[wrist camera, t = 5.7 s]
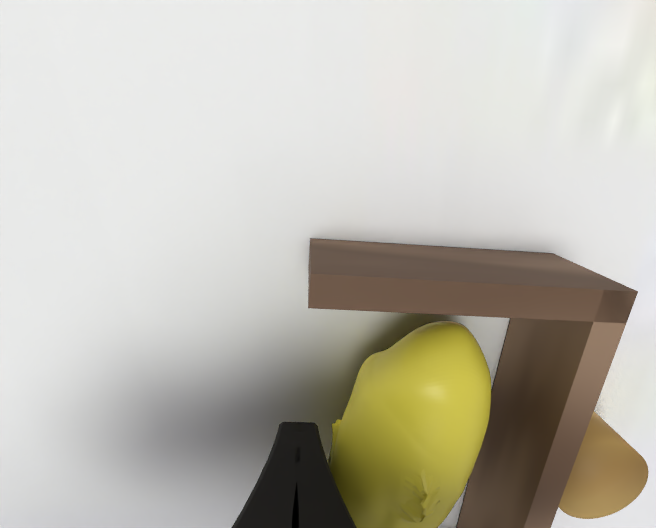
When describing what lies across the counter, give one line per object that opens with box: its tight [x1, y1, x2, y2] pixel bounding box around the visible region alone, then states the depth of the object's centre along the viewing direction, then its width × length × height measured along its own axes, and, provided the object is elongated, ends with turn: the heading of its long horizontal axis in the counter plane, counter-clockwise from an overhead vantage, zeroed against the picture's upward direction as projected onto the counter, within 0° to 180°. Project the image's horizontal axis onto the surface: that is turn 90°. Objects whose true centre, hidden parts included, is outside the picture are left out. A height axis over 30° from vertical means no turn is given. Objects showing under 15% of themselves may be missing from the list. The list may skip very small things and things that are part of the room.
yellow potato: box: [327, 321, 491, 528], centre depth 11 cm, size 4×8×4 cm, turn 157°
